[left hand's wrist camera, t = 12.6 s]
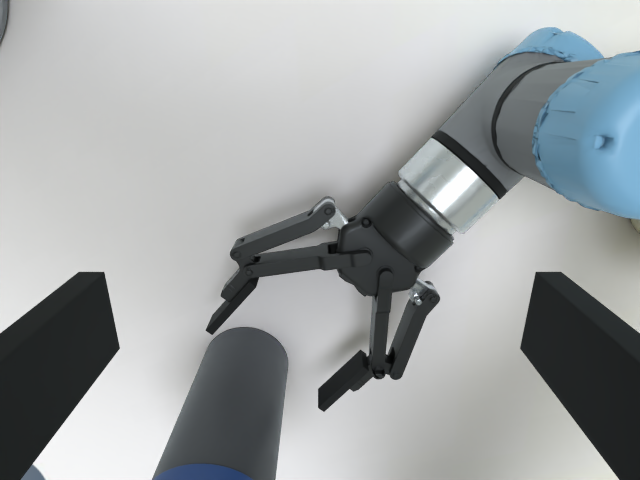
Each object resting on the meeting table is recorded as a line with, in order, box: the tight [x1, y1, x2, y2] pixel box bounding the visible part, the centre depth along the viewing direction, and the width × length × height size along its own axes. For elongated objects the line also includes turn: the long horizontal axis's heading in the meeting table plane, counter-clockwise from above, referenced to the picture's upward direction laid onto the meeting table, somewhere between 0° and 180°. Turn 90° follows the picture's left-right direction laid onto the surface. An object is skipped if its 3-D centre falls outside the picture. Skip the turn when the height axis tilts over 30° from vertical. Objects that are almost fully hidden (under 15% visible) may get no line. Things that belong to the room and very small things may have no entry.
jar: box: [152, 327, 288, 480], centre depth 39 cm, size 10×10×20 cm
